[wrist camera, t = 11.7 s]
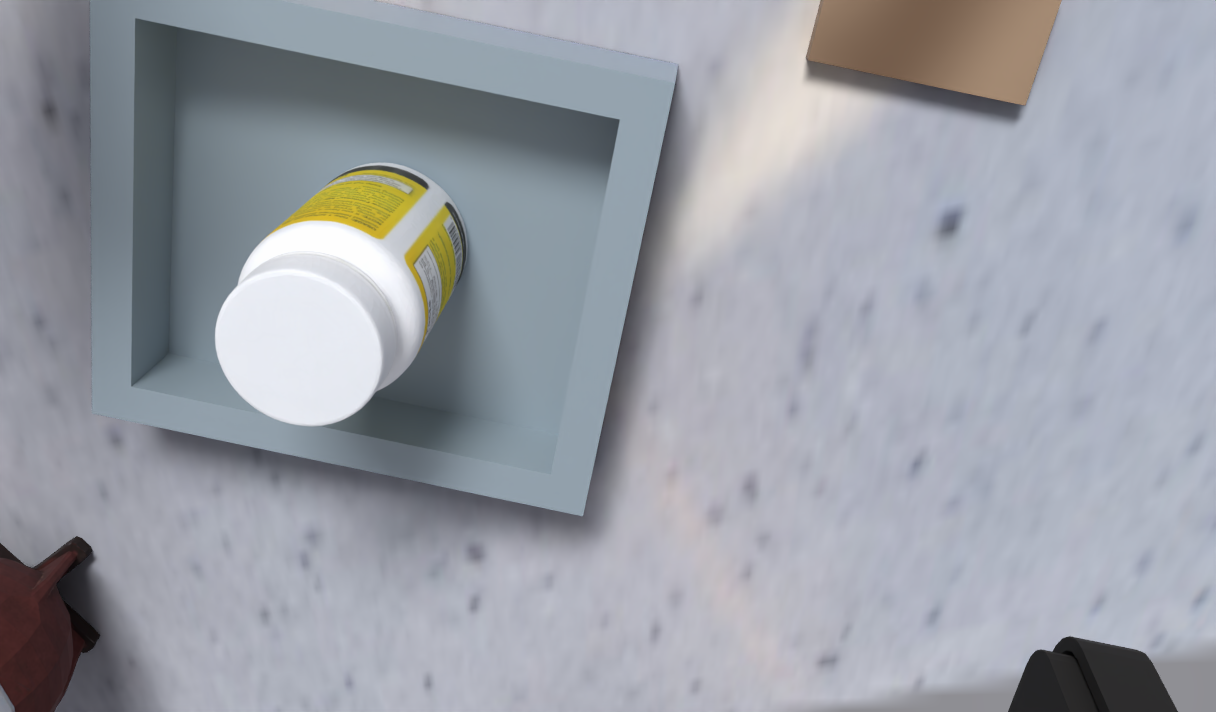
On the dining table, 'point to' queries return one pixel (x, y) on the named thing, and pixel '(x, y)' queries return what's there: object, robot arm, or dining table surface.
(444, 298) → the supplement bottle
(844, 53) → the walnut pad
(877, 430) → the dining table surface
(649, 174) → the tray
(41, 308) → the dining table surface
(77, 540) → the mate gourd
